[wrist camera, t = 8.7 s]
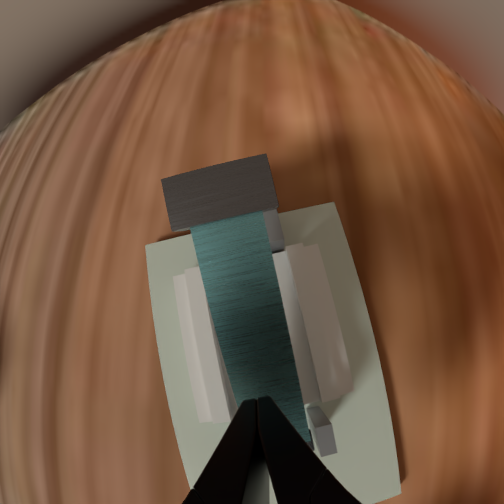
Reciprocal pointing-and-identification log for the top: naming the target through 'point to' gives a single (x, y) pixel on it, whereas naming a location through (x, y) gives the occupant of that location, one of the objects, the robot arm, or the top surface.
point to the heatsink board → (344, 412)
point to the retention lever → (241, 277)
